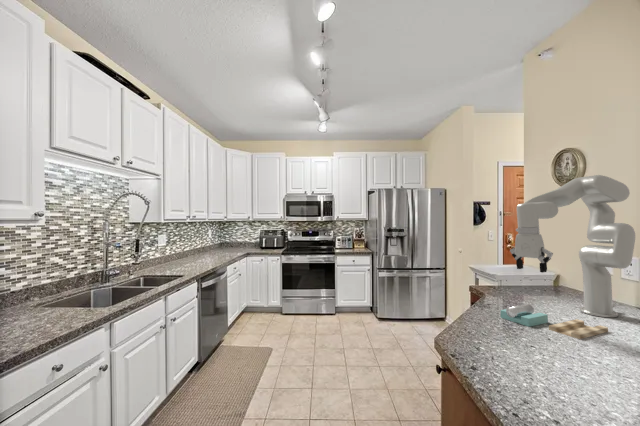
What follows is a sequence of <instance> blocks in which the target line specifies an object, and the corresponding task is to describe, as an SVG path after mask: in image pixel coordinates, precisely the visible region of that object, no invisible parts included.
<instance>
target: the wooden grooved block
mask: <svg viewBox="0 0 640 426" xmlns="http://www.w3.org/2000/svg"><path fill="white" fill-rule="evenodd" d="M548 330H549V331H552V332H556V333H558V334H561V335H565V336H567V337H571V338H574V339H577V340H581V339H585V338H589V337H593V336H597V335H600V334H604V333H608V332H609V327H608V326H604V325H600V324H599V325H595V326H591V325H587V324H585V321H584V320H582V319H577V318H576V319H571V320H567V321H564V322H563V321H562V322H558V323H554V324H550V325H548Z"/></svg>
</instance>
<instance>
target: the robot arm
mask: <svg viewBox="0 0 640 426" xmlns="http://www.w3.org/2000/svg"><path fill="white" fill-rule="evenodd" d="M629 197H630V189H629V187H628V186H627V185H626V184H625V183H624V182H621V181H619V180H617V179H614V178H612V177H609V176H606V175H602V174H596V175H595V174H594V175H588V176H581V177H575V178H573V179H571V180H570V181H568V182H567V183H565V184H563V185H561V186H559V187H558V188H557V189H554V190H551V191H547V192H546V193H543V194H540V195H537V196H535V197H532V198H530V199H529V200H527V201H525V202H524V203H518V204H517V206H516V219H517V221H516V222H517V228H515V232H517V234H516V235H515V240H514V247H513V248H511V249H509V252H510V253H511V256H512V257H513V258H514V260H515V261H516V262H515V263H516V270H522V269H524V261H523V258H529V259H530V258H531V259H538V261H539V272H540V273H541V274H543V273H547V271H548V266H547V265H548V263H549V261H550V260H552V257H553V255H554V252H551V251H550V250H548V249H547V248H545V244H544V240H543V239H544V238H543V236H542V234H541V233H540V221H539V220H548V219H553V218H554V217H556V216H557V215H558V214H559V208H562V207H566V206H569V205H571V204H573V203H575V202H576V201H578V200H579V199H581V201H582V202H583V203H584V204H585V206H586V208H587V209H588V212H589V219H588V225H587V231H586V238H587V240H588V241H590V242H592V243H596V244H597V243H599V244H609V245H598V244H597V245H596V244H588V245H585V246H583V247H581V248H580V249H579V251H578V257H579V260H580V261H579V262H580V264H581V270H582V283H583V285H582V286H583V287H582V289H583V305H584V306H581V307H580V308H579V311H580V312H581V313H583V314H587V315H590V316H596V317H601V318H617V317H619V313H618V312H617V311H614V308H616V307H617V306H616V303H614V302H613V288H612V287H613V285H612V276H611V273H610V272H609V270H608V268H612V269H620V270H621V269H627V268H629V266H631V264H632V261H633V256H634V249H635V245H636V231H635V228H634V227H633V226H632V225H630V224H628V223H624V222H615V219H616V213H615V211H614V209H613V208H612V207H611V206H610V205H609V204H608V203H620V202H624V201H625V200H627V199H629ZM610 244H611V245H610ZM612 245H613V246H612ZM545 256H546V257H545Z"/></svg>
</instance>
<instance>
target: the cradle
mask: <svg viewBox="0 0 640 426" xmlns="http://www.w3.org/2000/svg"><path fill="white" fill-rule="evenodd" d="M506 309H507V308H505V309H500V311H499V312H500V318H501V319H504V320H507V321H510V322H513V323H516V324H520V325H522V326H526V327H528V328H529V327H533V326H539V325H542V324H548V323H549V318H548V317H549V314H546V313H543V312H537V313H535V312H534V313H532V314H528V315H523V316H517V317H509V316H508V315H507V313H506Z"/></svg>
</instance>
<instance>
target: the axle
mask: <svg viewBox="0 0 640 426" xmlns="http://www.w3.org/2000/svg"><path fill="white" fill-rule="evenodd" d="M505 309H506V313H507V315H508V316H509V317H517V316H523V315H528V314H535V308H534V307H533V306H532V305H531V304H529V303H527V304H522V305H517V306H512V307H507V308H505Z"/></svg>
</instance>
